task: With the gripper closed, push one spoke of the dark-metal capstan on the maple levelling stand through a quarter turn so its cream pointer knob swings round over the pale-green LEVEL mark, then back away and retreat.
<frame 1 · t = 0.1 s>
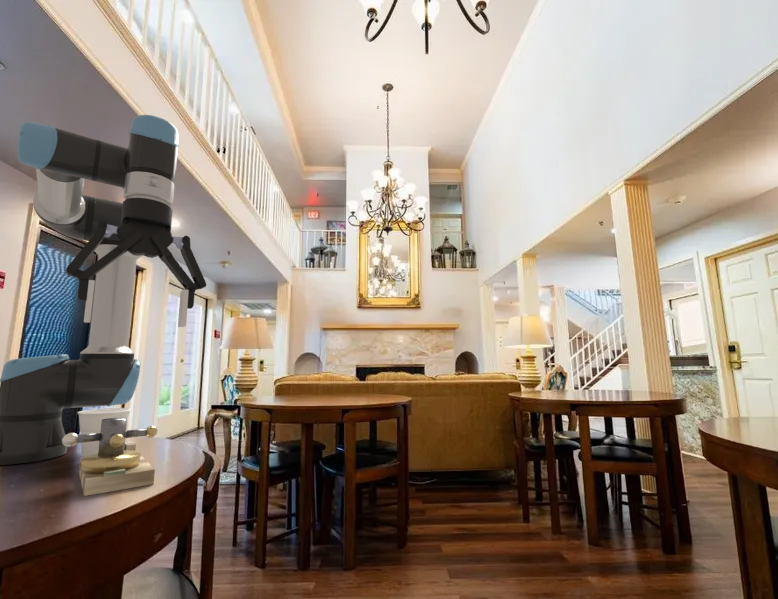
hand: (137, 324, 67), 28 cm above the table, fingers open, 13 cm apart
cup: (99, 462, 88), on the table
capstan: (112, 441, 75), point 7 cm above the table, hinge at 0.0°
stand: (114, 478, 76), on the table
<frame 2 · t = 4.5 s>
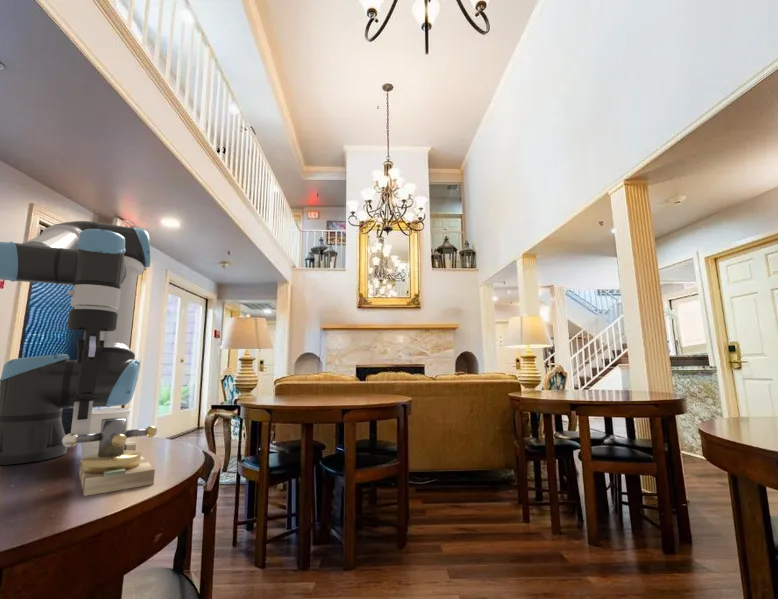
hand: (79, 437, 73), 8 cm above the table, fingers closed
capstan: (112, 441, 75), point 7 cm above the table, hinge at 2.8°, touching gripper
everything else where it was.
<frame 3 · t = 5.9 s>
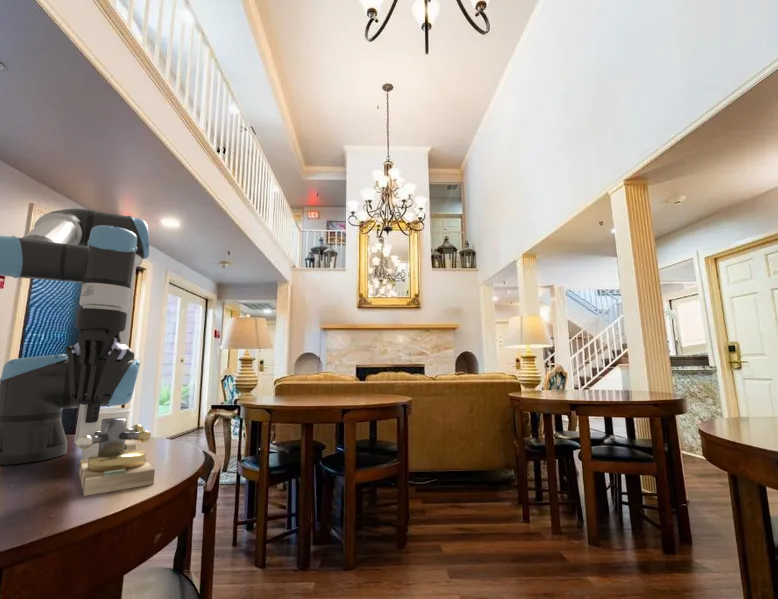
hand: (84, 441, 71), 8 cm above the table, fingers closed
capstan: (112, 441, 75), point 7 cm above the table, hinge at 44.4°, touching gripper
everything else where it was.
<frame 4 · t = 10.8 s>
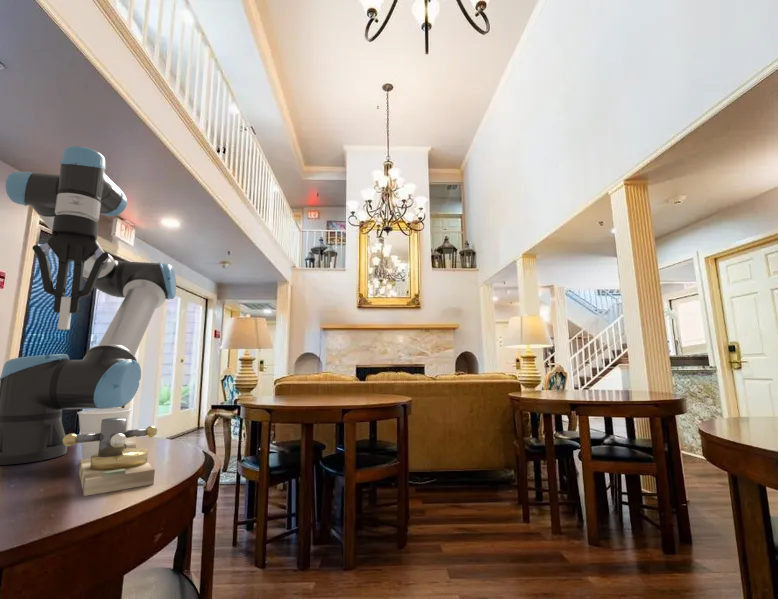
hand: (63, 329, 82), 28 cm above the table, fingers closed
capstan: (112, 441, 75), point 7 cm above the table, hinge at 91.7°
everything else where it was.
at the end: capstan at +92° (first picture: +0°); cup moved 0.2 cm from its start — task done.
